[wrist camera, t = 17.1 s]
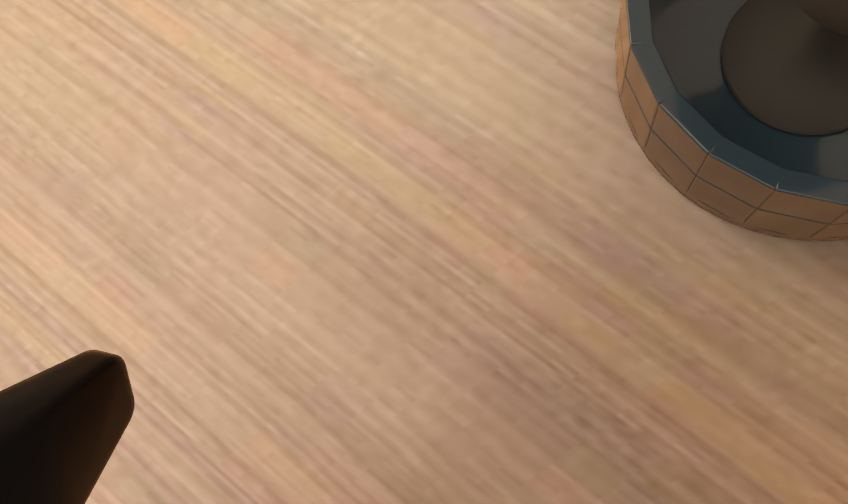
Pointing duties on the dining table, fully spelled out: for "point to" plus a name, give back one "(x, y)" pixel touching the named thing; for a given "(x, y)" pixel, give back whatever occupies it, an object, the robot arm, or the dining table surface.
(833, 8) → the sundae
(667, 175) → the dark grey round dish
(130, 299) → the dining table surface
